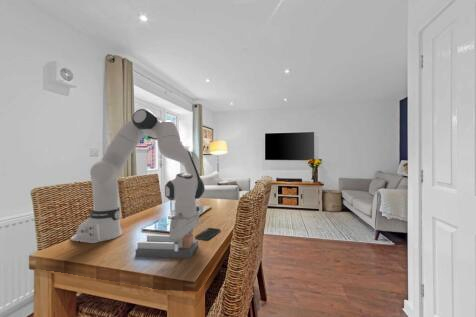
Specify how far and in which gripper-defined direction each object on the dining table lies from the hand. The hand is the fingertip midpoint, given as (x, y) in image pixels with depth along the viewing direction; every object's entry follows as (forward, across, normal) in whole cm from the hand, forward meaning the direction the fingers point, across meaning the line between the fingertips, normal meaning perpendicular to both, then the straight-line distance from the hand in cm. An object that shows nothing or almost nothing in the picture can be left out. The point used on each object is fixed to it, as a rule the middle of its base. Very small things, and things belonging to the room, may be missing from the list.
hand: (185, 242), depth 91 cm
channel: (+4, -1, +7) cm, 8 cm away
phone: (+4, +21, -3) cm, 21 cm away
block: (+1, 0, 0) cm, 1 cm away
